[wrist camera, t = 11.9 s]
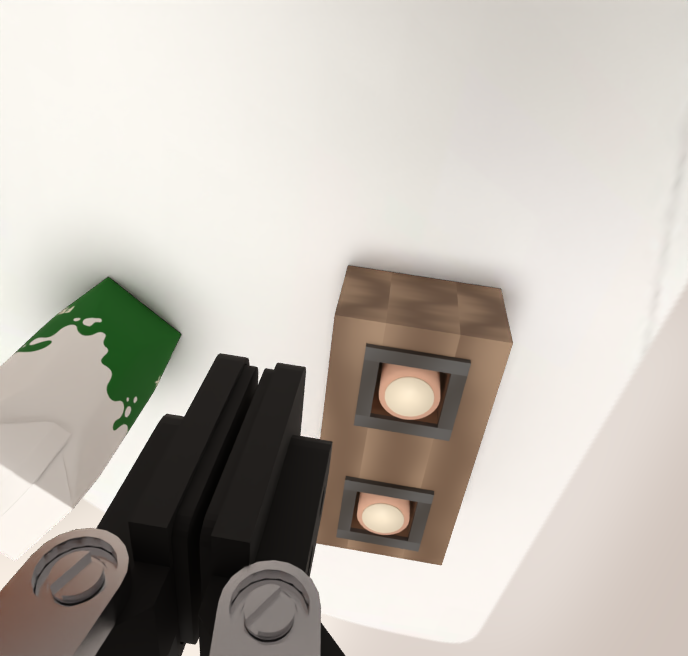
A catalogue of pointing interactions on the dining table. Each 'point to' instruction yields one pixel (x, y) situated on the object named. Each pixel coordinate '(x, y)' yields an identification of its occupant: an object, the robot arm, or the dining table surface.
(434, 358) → the walnut block
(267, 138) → the dining table surface
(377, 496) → the peg
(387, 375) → the peg
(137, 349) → the milk carton
